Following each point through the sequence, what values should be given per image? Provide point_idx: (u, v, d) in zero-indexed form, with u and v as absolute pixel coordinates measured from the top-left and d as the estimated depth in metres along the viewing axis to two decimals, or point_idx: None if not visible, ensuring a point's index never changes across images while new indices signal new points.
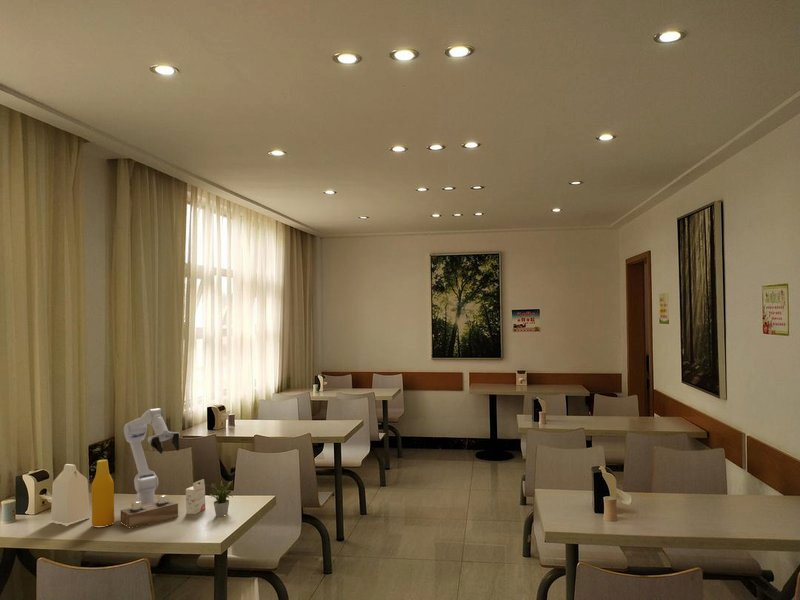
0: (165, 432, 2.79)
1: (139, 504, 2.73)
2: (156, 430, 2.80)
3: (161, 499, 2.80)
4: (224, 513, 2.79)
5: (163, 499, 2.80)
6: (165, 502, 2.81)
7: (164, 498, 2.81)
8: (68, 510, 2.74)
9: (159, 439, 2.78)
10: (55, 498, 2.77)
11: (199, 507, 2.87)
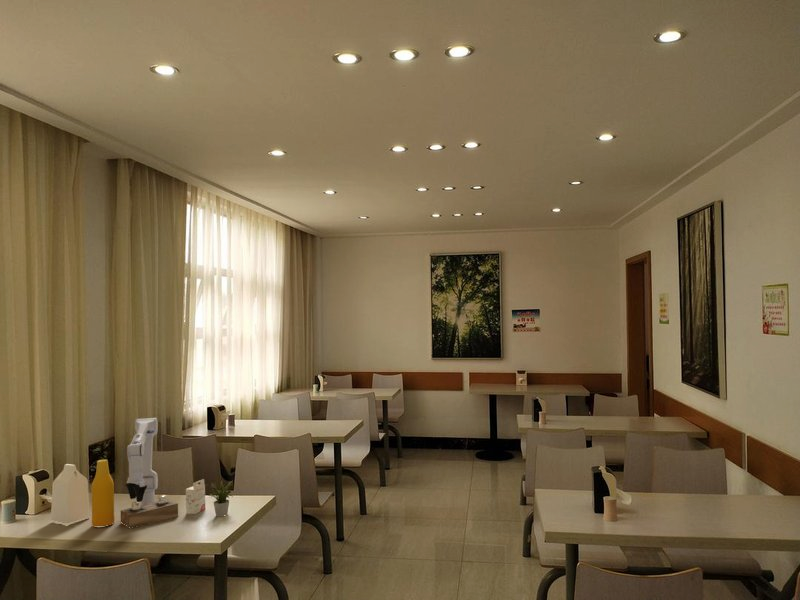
0: (129, 482, 2.72)
1: (139, 504, 2.73)
2: None
3: (161, 499, 2.80)
4: (224, 513, 2.79)
5: (163, 499, 2.80)
6: (165, 502, 2.81)
7: (164, 498, 2.81)
8: (68, 510, 2.74)
9: (133, 483, 2.76)
10: (55, 498, 2.77)
11: (199, 507, 2.87)
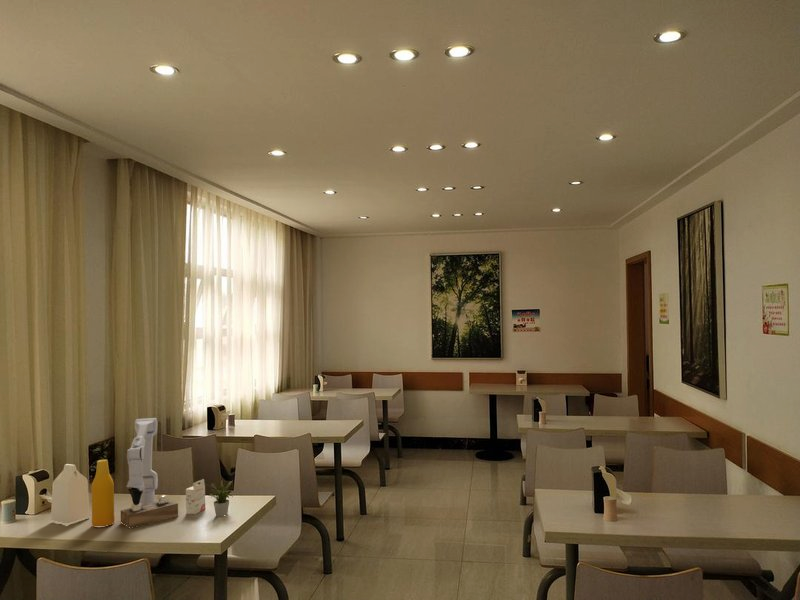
0: (129, 486, 2.72)
1: (139, 506, 2.73)
2: None
3: (161, 499, 2.80)
4: (224, 513, 2.79)
5: (163, 499, 2.80)
6: (165, 502, 2.81)
7: (164, 498, 2.81)
8: (68, 510, 2.74)
9: (133, 486, 2.75)
10: (55, 498, 2.77)
11: (199, 507, 2.87)
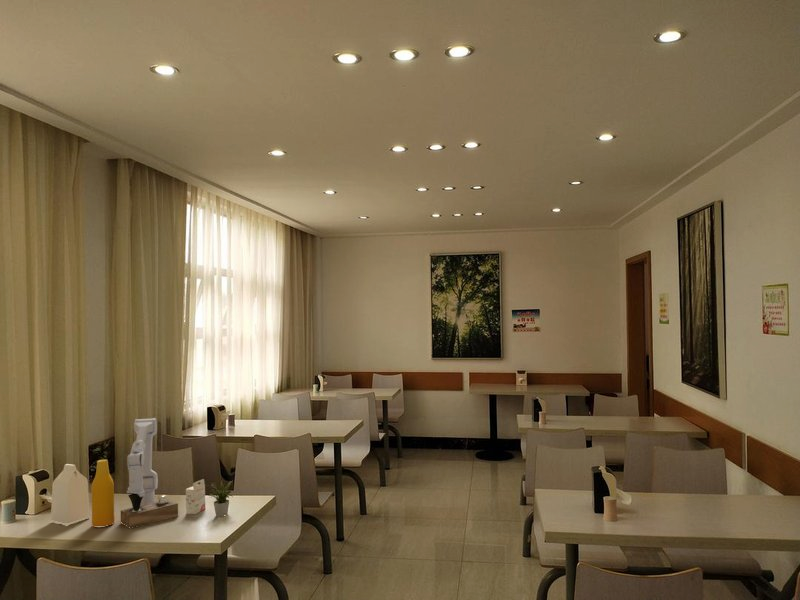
0: (129, 492, 2.72)
1: None
2: None
3: (161, 499, 2.80)
4: (224, 513, 2.79)
5: (163, 499, 2.80)
6: (165, 502, 2.81)
7: (164, 498, 2.81)
8: (68, 510, 2.74)
9: (133, 492, 2.75)
10: (55, 498, 2.77)
11: (199, 507, 2.87)
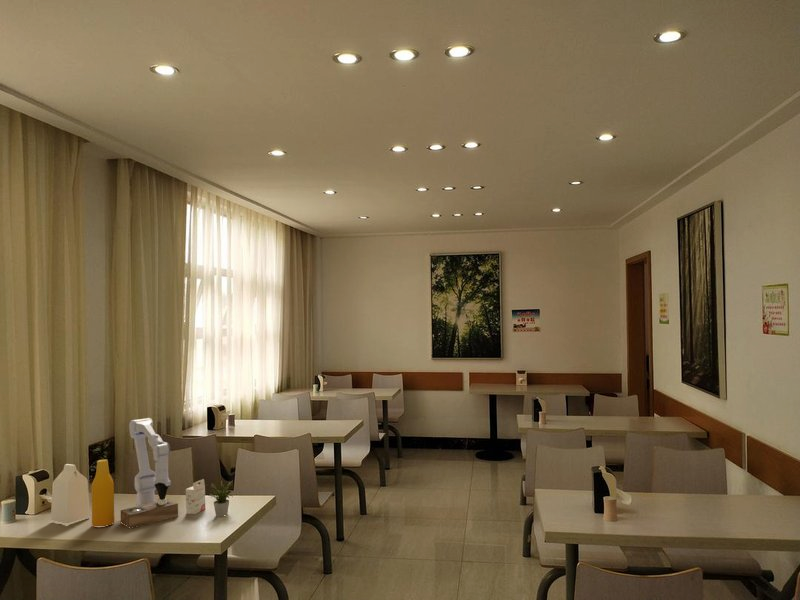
0: (155, 481, 2.80)
1: None
2: None
3: (161, 502, 2.80)
4: (224, 513, 2.79)
5: (163, 502, 2.80)
6: None
7: (164, 501, 2.81)
8: (68, 510, 2.74)
9: None
10: (55, 498, 2.77)
11: (199, 507, 2.87)
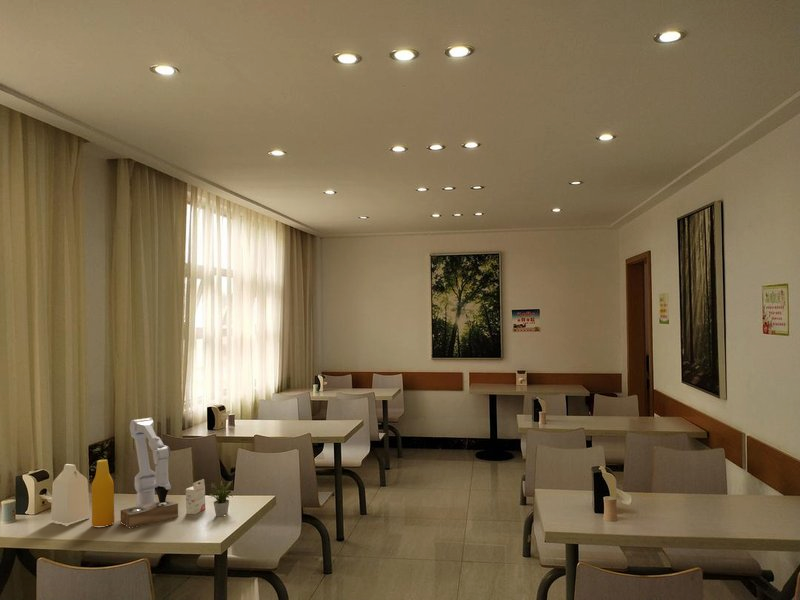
0: (155, 485, 2.80)
1: None
2: None
3: None
4: (224, 513, 2.79)
5: None
6: None
7: None
8: (68, 510, 2.74)
9: (159, 485, 2.84)
10: (55, 498, 2.77)
11: (199, 507, 2.87)
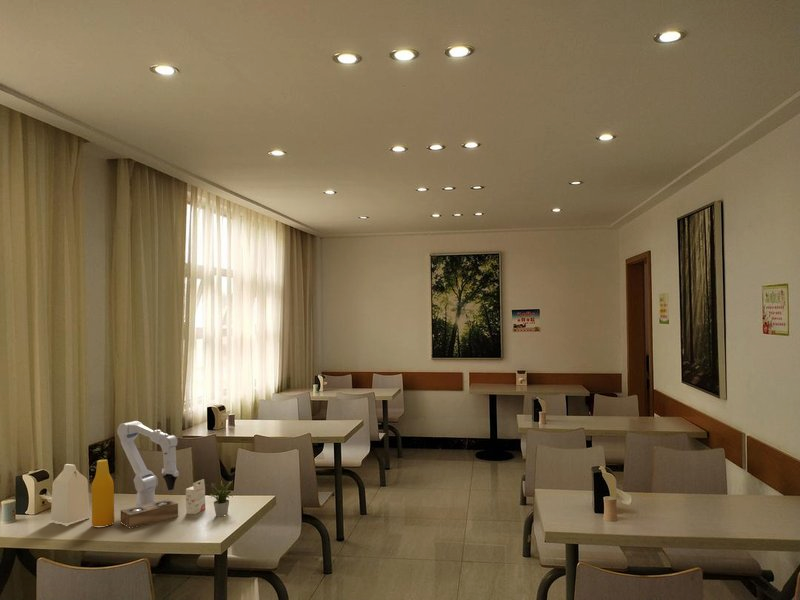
0: None
1: None
2: None
3: None
4: (224, 513, 2.79)
5: None
6: None
7: None
8: (68, 510, 2.74)
9: (167, 473, 2.92)
10: (55, 498, 2.77)
11: (199, 507, 2.87)
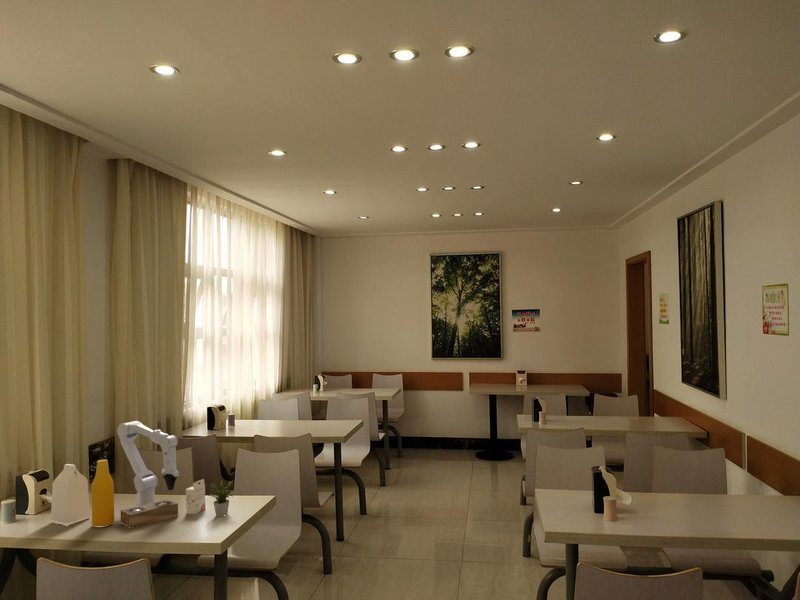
0: None
1: None
2: None
3: None
4: (224, 513, 2.79)
5: None
6: None
7: None
8: (68, 510, 2.74)
9: (167, 473, 2.92)
10: (55, 498, 2.77)
11: (199, 507, 2.87)
